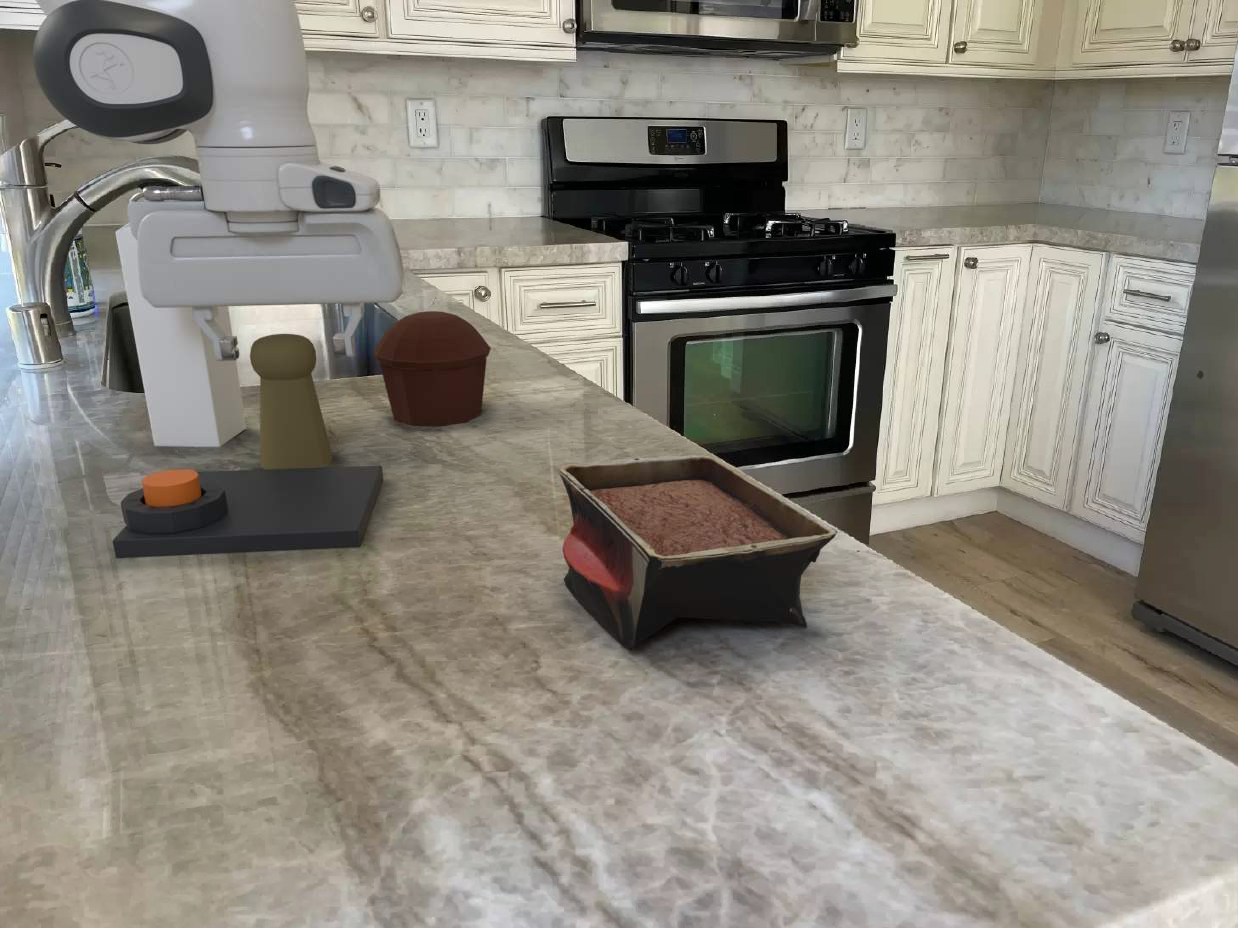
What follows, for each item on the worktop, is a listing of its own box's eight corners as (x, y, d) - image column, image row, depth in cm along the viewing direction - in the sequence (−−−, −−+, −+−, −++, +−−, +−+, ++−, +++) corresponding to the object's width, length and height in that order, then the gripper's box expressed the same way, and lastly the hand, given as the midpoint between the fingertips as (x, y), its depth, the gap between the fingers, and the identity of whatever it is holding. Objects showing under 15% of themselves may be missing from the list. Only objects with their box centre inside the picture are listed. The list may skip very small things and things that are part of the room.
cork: (247, 461, 88) (228, 335, 84) (311, 446, 92) (297, 325, 88) (280, 477, 84) (263, 346, 80) (346, 461, 88) (332, 336, 84)
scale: (111, 559, 69) (103, 518, 67) (175, 488, 81) (169, 453, 80) (359, 548, 71) (355, 508, 70) (383, 481, 84) (380, 446, 83)
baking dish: (739, 566, 74) (726, 431, 71) (866, 645, 57) (854, 473, 55) (547, 609, 69) (525, 467, 67) (624, 708, 53) (599, 524, 50)
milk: (154, 447, 91) (104, 192, 83) (185, 427, 97) (141, 186, 89) (221, 448, 91) (178, 192, 83) (248, 428, 97) (210, 187, 89)
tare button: (138, 510, 70) (133, 487, 69) (155, 492, 73) (151, 469, 72) (193, 508, 70) (189, 485, 70) (208, 490, 74) (204, 468, 73)
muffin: (478, 431, 97) (472, 327, 93) (364, 429, 97) (353, 325, 94) (503, 399, 108) (498, 305, 104) (400, 397, 108) (392, 303, 105)
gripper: (107, 189, 75) (142, 370, 81) (389, 186, 78) (406, 362, 83) (136, 183, 81) (167, 353, 86) (398, 181, 84) (413, 346, 89)
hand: (287, 357), depth 85 cm, fingers open, 8 cm apart
